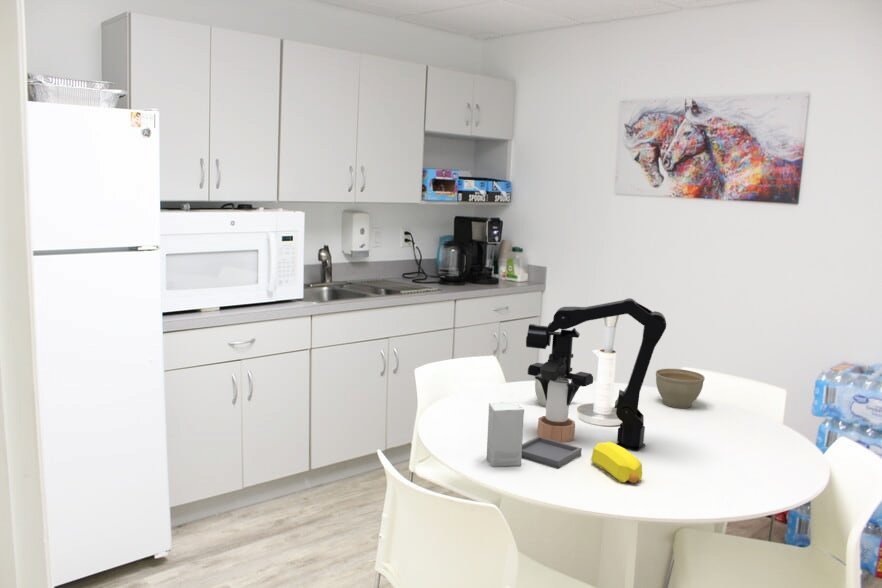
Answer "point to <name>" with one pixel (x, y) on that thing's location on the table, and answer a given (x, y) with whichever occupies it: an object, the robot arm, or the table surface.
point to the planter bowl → (679, 386)
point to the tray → (549, 452)
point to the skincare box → (505, 434)
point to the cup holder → (556, 430)
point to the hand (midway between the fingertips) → (557, 402)
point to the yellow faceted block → (617, 462)
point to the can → (557, 401)
